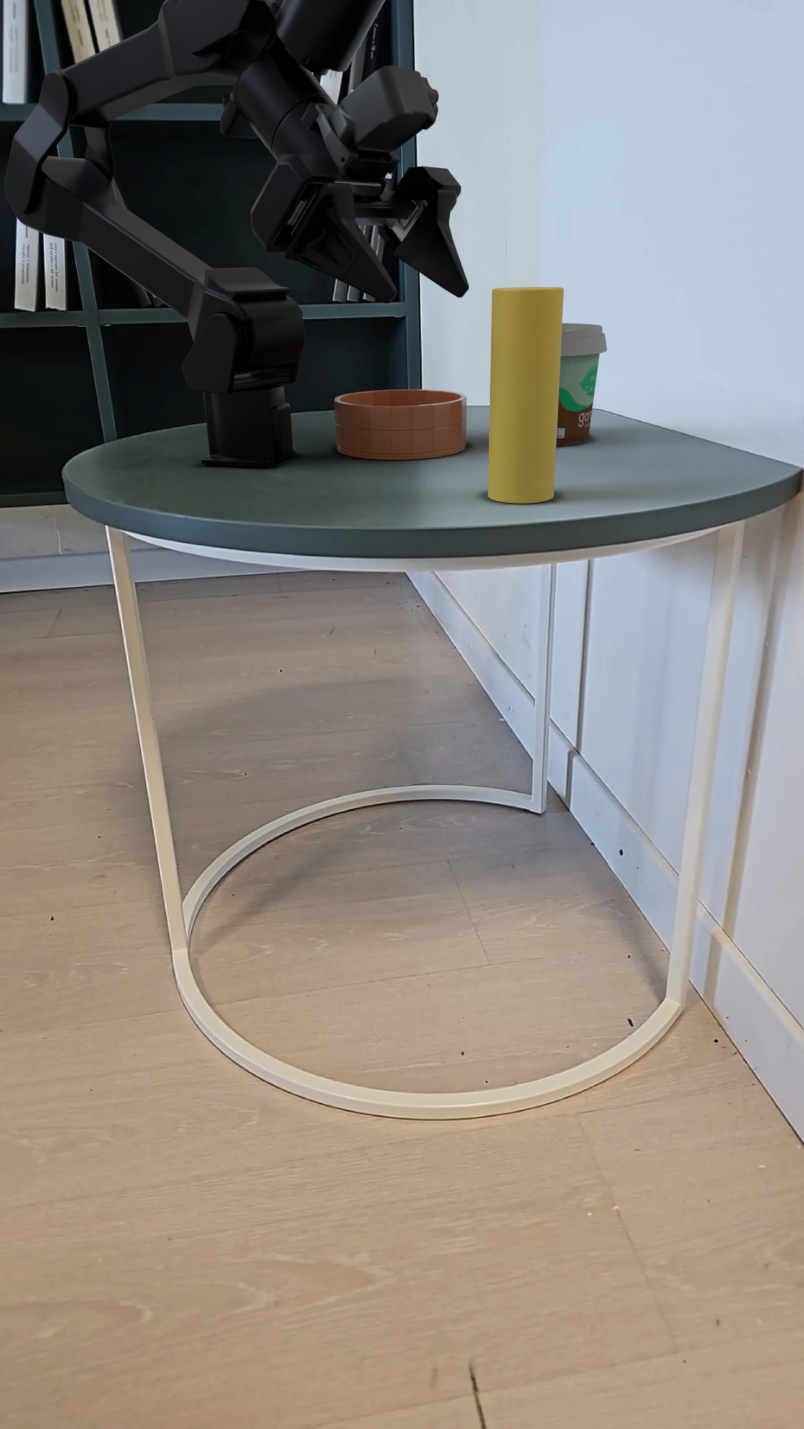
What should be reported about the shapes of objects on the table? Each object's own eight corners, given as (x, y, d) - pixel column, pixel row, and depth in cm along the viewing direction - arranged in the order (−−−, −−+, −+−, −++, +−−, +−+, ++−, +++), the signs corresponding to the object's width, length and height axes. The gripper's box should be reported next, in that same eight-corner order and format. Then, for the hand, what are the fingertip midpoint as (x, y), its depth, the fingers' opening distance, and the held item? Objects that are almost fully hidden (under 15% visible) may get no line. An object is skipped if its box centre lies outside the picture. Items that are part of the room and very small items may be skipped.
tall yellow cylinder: (481, 502, 69) (485, 289, 63) (495, 487, 73) (499, 287, 67) (548, 505, 68) (558, 288, 62) (558, 490, 72) (568, 286, 66)
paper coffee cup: (599, 451, 86) (608, 331, 82) (530, 449, 87) (535, 331, 83) (602, 428, 97) (609, 322, 93) (540, 428, 98) (545, 322, 94)
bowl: (317, 457, 86) (314, 405, 84) (361, 435, 96) (359, 388, 94) (447, 462, 83) (447, 408, 81) (478, 438, 93) (478, 390, 91)
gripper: (267, -1, 58) (420, 197, 57) (439, 45, 72) (565, 205, 70) (192, 159, 66) (325, 336, 64) (360, 173, 79) (473, 320, 78)
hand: (430, 295), depth 69 cm, fingers open, 9 cm apart
